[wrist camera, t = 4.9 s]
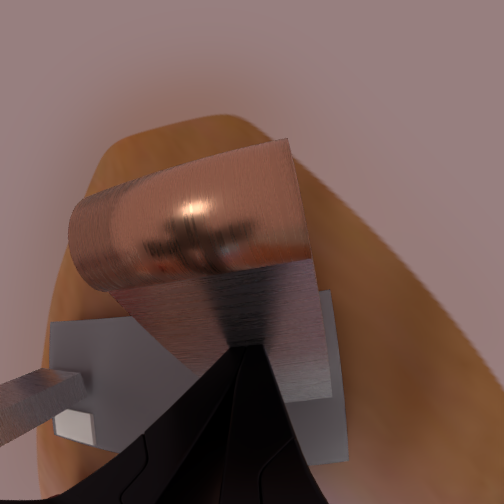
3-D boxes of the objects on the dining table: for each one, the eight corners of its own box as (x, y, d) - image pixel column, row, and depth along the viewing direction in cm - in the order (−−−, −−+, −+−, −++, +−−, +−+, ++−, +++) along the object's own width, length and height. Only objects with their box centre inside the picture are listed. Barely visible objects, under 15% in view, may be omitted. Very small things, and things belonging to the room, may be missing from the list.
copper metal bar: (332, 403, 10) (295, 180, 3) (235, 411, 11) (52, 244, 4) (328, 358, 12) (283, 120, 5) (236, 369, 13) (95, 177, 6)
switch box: (346, 444, 13) (349, 462, 10) (83, 431, 16) (51, 434, 13) (330, 302, 16) (329, 287, 13) (79, 329, 20) (47, 321, 17)
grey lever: (89, 400, 14) (-42, 475, 4) (49, 392, 14) (-65, 445, 5) (79, 368, 14) (-66, 431, 4) (40, 364, 14) (-82, 408, 5)
